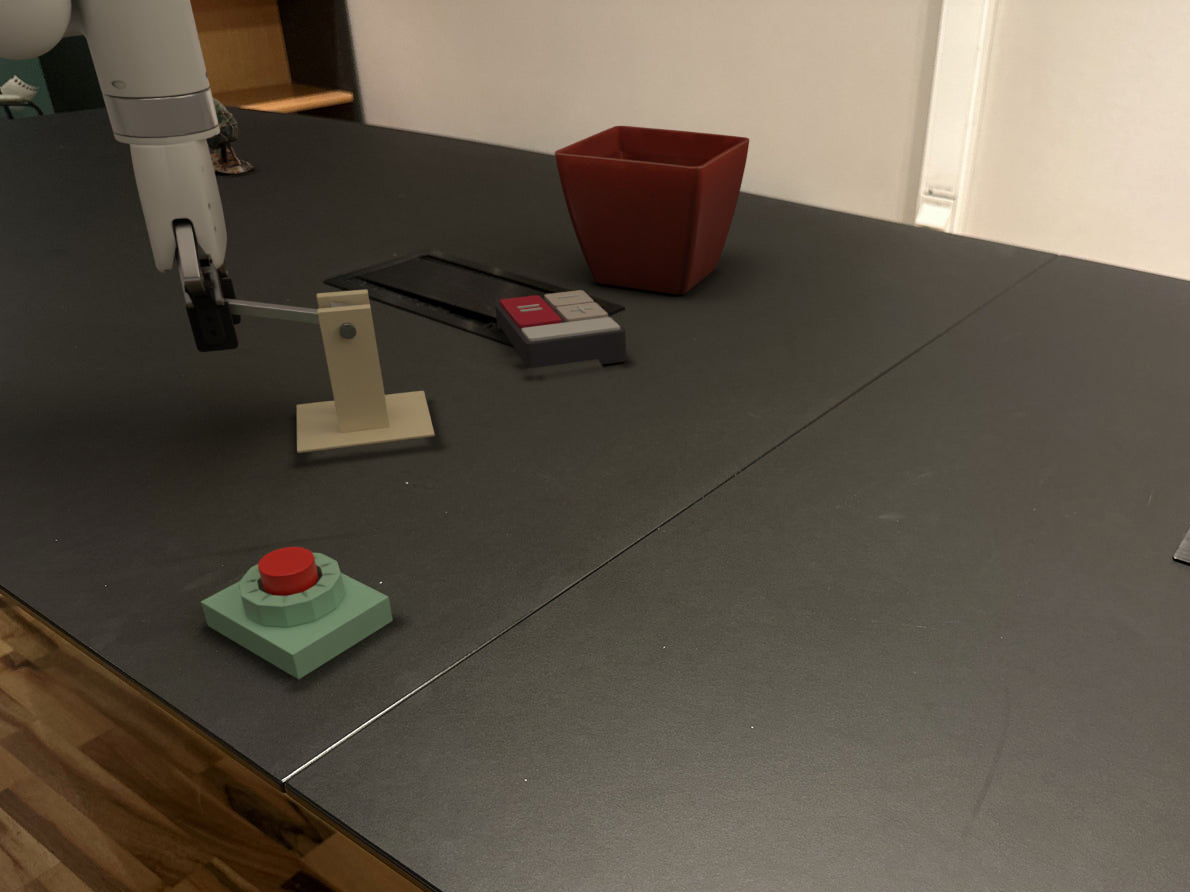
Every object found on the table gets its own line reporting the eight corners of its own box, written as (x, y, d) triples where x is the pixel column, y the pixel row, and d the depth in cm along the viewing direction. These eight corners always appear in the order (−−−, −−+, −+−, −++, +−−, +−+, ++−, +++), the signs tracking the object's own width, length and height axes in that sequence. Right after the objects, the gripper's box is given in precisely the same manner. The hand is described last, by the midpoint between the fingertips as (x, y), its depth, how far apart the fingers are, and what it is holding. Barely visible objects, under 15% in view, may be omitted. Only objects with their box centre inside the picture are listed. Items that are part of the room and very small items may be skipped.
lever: (197, 326, 88) (197, 299, 87) (201, 306, 92) (201, 279, 91) (363, 344, 93) (365, 318, 92) (360, 324, 97) (362, 299, 96)
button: (252, 585, 72) (246, 563, 71) (296, 561, 74) (291, 540, 74) (285, 603, 70) (280, 581, 69) (329, 578, 73) (325, 557, 72)
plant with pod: (207, 180, 175) (176, 49, 164) (198, 165, 183) (168, 39, 172) (259, 175, 178) (232, 46, 167) (247, 161, 186) (221, 37, 175)
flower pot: (620, 247, 150) (616, 122, 141) (747, 264, 145) (752, 136, 135) (559, 288, 134) (550, 151, 125) (698, 309, 129) (700, 168, 120)
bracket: (299, 462, 94) (269, 327, 87) (298, 415, 102) (271, 287, 95) (436, 445, 98) (418, 313, 91) (425, 401, 105) (407, 276, 99)
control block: (207, 626, 74) (193, 580, 72) (303, 574, 79) (292, 530, 77) (298, 680, 69) (286, 632, 67) (393, 621, 75) (385, 575, 73)
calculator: (585, 286, 124) (626, 323, 113) (587, 321, 127) (627, 361, 115) (493, 296, 121) (525, 336, 109) (497, 333, 123) (529, 375, 111)
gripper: (124, 97, 87) (181, 307, 97) (93, 141, 73) (163, 381, 83) (221, 93, 89) (268, 299, 99) (209, 135, 76) (264, 369, 85)
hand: (220, 334), depth 91 cm, fingers closed on lever, 5 cm apart
